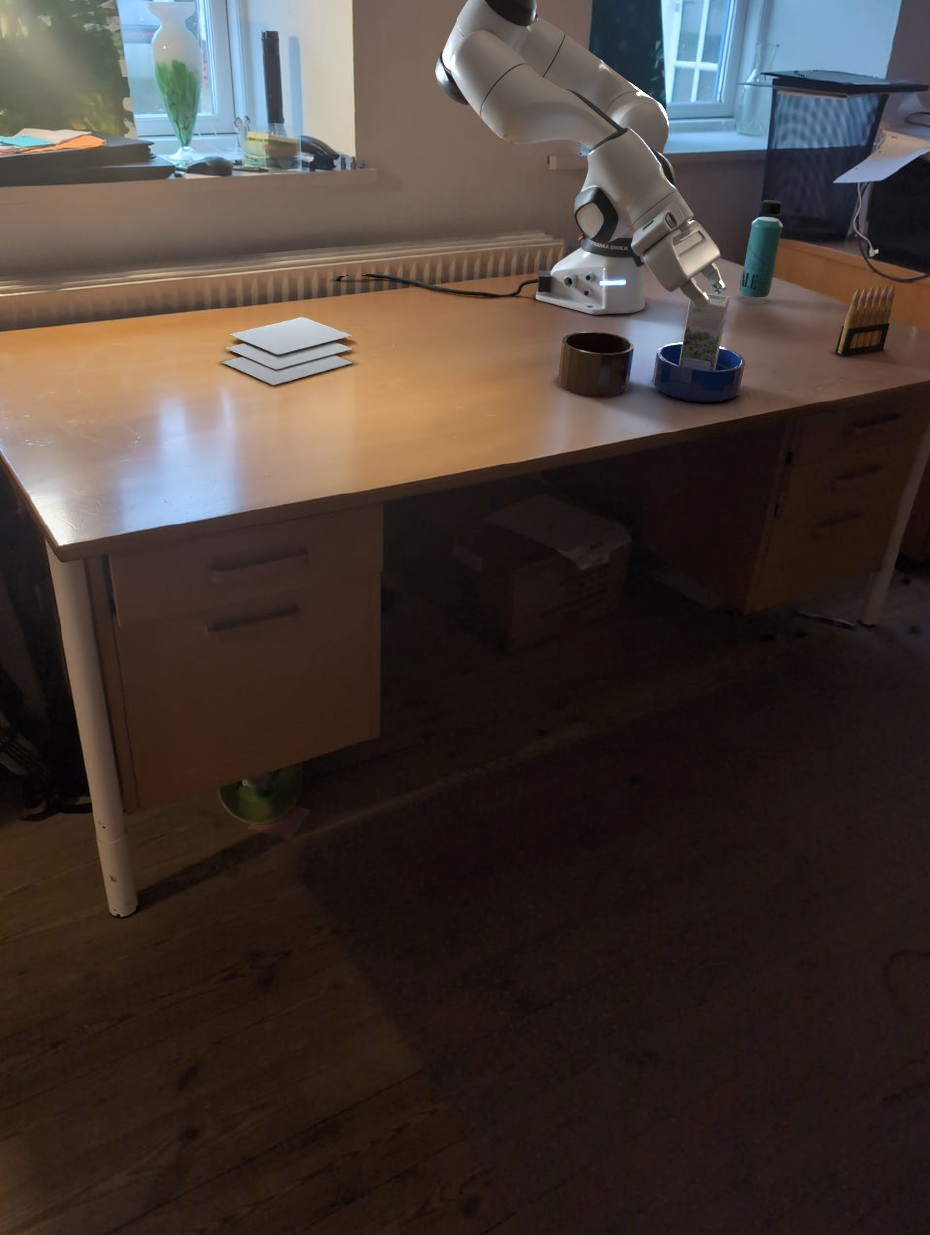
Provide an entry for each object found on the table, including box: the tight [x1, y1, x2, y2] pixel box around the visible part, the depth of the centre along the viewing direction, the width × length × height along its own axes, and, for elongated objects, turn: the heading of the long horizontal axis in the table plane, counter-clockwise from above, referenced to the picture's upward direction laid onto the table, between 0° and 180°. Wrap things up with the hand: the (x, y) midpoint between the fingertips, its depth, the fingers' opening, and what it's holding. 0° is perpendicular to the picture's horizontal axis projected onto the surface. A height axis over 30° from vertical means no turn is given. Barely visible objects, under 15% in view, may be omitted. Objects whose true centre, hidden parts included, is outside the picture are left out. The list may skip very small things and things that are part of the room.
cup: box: [557, 331, 635, 398], centre depth 165 cm, size 12×12×7 cm
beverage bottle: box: [739, 199, 784, 298], centre depth 209 cm, size 6×7×20 cm
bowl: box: [651, 342, 746, 403], centre depth 166 cm, size 14×14×6 cm
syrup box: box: [679, 292, 730, 371], centre depth 163 cm, size 6×6×14 cm
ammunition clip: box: [834, 284, 896, 357], centre depth 185 cm, size 11×2×12 cm, turn 117°
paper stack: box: [221, 316, 353, 386], centre depth 173 cm, size 23×25×1 cm
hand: (713, 299), depth 159 cm, fingers open, 8 cm apart
